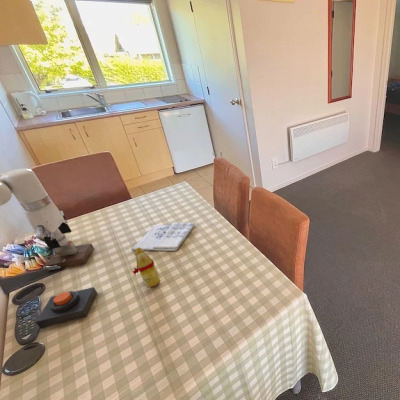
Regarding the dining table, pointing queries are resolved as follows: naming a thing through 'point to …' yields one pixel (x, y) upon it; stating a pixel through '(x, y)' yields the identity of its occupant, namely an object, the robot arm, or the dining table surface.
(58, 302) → the button
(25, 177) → the robot arm
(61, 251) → the knob
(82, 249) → the dial panel
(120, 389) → the dining table surface
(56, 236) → the bath foam
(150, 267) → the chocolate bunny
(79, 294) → the button housing
